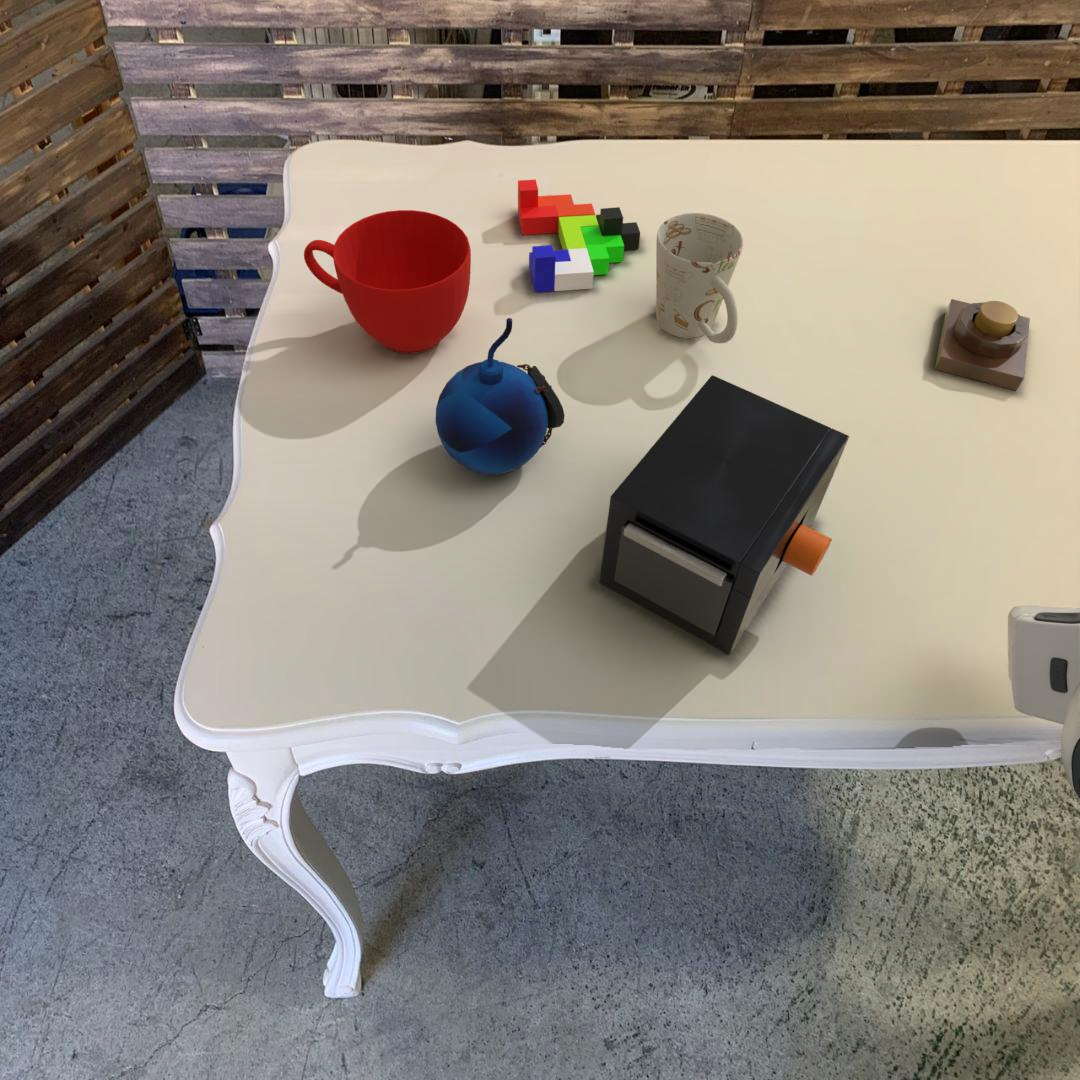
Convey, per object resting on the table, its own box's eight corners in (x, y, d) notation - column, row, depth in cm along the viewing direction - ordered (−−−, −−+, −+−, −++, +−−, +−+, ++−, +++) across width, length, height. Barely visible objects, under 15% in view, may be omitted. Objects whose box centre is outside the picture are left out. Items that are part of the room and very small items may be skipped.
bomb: (575, 471, 81) (586, 342, 69) (465, 511, 78) (456, 382, 66) (528, 403, 87) (530, 271, 75) (423, 437, 84) (408, 306, 72)
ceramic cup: (342, 277, 98) (327, 193, 90) (490, 306, 95) (488, 222, 88) (291, 352, 90) (269, 268, 82) (450, 386, 88) (443, 302, 80)
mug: (696, 287, 98) (713, 204, 90) (762, 357, 91) (786, 274, 84) (630, 307, 96) (641, 224, 88) (693, 380, 89) (711, 298, 81)
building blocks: (650, 285, 98) (655, 250, 95) (534, 292, 97) (534, 258, 94) (623, 207, 107) (627, 174, 104) (516, 214, 106) (517, 180, 103)
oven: (812, 524, 78) (849, 435, 70) (722, 666, 69) (752, 585, 61) (691, 465, 82) (712, 374, 73) (591, 592, 73) (601, 506, 65)
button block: (1022, 330, 95) (1038, 303, 92) (1016, 390, 89) (1032, 364, 86) (945, 311, 97) (958, 284, 94) (934, 369, 91) (947, 342, 88)
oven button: (824, 556, 71) (836, 531, 68) (807, 583, 69) (819, 558, 66) (795, 541, 71) (805, 516, 69) (778, 568, 70) (788, 543, 67)
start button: (1011, 320, 91) (1019, 305, 90) (1009, 341, 89) (1017, 327, 88) (975, 311, 92) (982, 297, 91) (972, 332, 90) (979, 318, 88)
